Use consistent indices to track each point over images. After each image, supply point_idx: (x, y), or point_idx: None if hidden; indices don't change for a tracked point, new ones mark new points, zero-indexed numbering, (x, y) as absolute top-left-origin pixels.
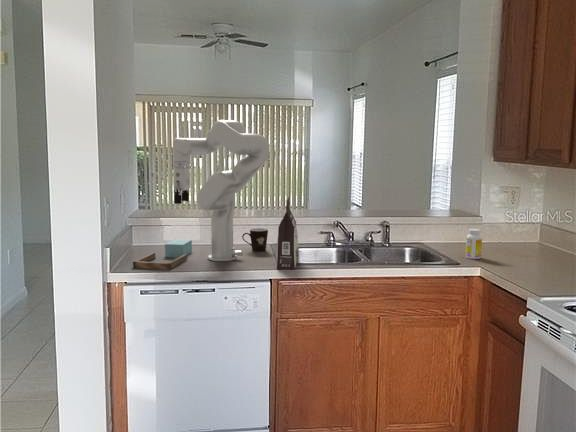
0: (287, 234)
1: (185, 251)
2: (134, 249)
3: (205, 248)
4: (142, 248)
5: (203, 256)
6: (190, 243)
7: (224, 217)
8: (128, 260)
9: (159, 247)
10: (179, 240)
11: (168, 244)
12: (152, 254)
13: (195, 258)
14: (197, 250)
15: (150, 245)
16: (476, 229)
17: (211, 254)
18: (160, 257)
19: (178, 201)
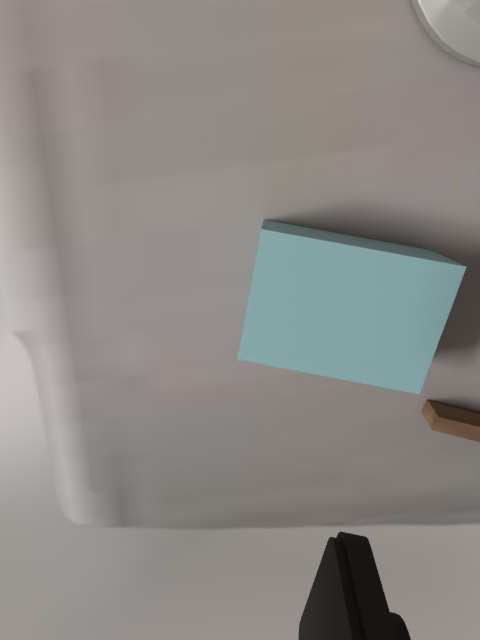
0: None
1: (401, 247)
2: (195, 517)
3: (147, 139)
4: (170, 489)
5: (415, 117)
6: (292, 232)
7: None
8: (453, 506)
9: (138, 418)
10: (286, 317)
11: (427, 370)
12: (473, 424)
13: (472, 167)
14: (215, 188)
15: (91, 465)
16: None
17: (461, 41)
18: None
19: (401, 621)
